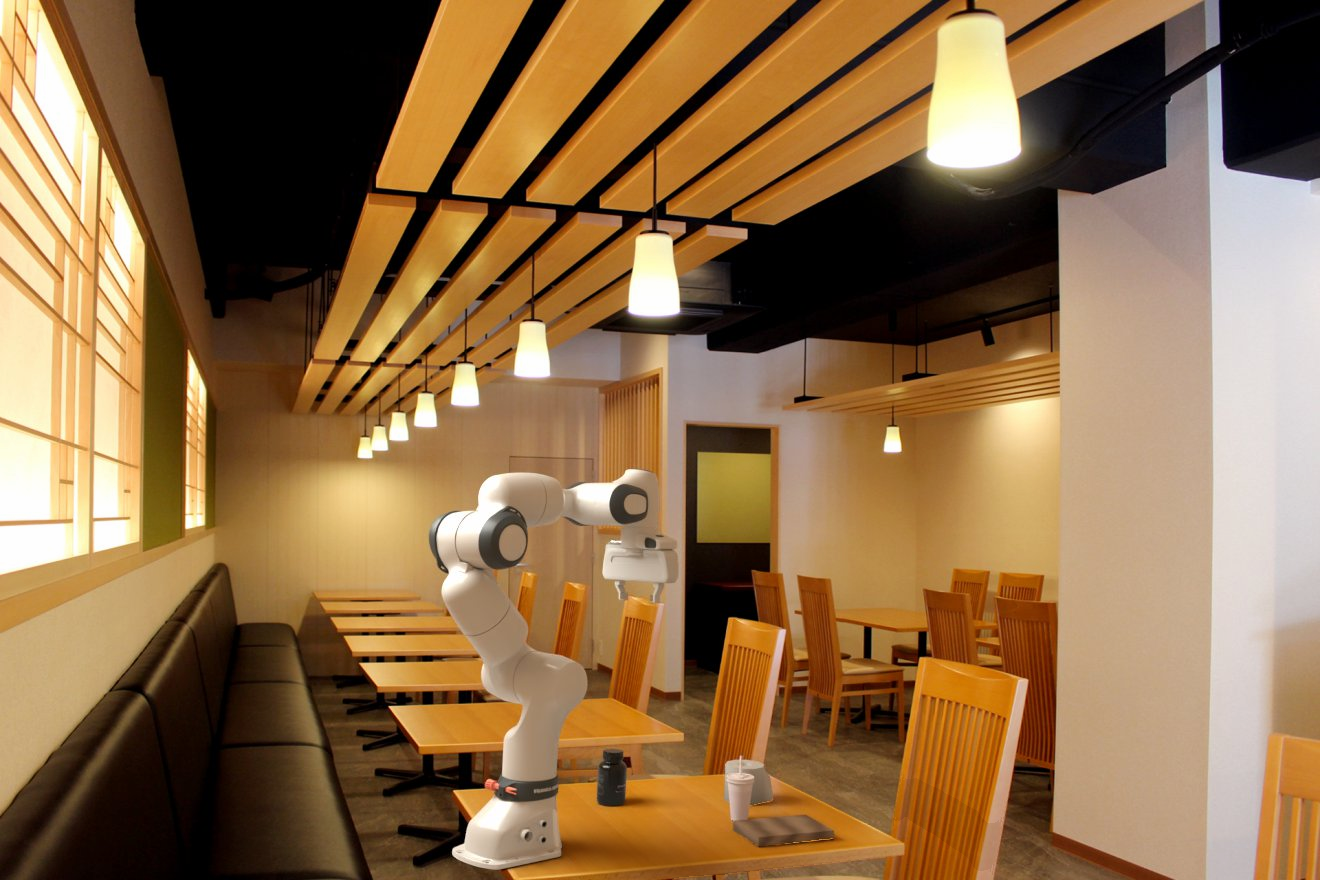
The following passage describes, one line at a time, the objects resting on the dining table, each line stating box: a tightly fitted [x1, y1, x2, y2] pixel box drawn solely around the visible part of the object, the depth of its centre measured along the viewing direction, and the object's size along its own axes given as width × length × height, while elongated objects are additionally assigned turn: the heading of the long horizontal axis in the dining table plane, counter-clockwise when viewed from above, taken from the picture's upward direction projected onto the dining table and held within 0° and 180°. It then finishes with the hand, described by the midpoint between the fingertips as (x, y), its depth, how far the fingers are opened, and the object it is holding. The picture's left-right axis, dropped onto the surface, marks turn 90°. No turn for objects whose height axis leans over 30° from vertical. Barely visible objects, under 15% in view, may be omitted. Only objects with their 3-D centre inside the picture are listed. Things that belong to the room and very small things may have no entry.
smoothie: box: [726, 755, 755, 822], centre depth 237 cm, size 6×6×14 cm
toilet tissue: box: [723, 759, 774, 805], centre depth 254 cm, size 9×13×9 cm
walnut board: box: [732, 814, 835, 848], centre depth 227 cm, size 18×12×2 cm, turn 112°
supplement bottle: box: [596, 748, 628, 807], centre depth 247 cm, size 7×7×12 cm
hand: (638, 601), depth 239 cm, fingers open, 8 cm apart
